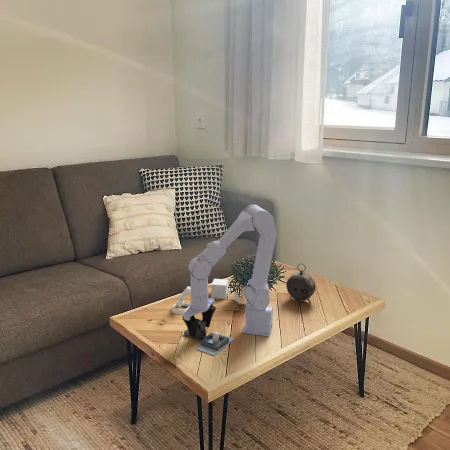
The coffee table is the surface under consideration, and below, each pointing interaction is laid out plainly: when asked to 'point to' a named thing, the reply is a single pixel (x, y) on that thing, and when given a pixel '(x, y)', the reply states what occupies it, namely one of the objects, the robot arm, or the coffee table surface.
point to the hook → (181, 302)
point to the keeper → (215, 341)
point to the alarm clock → (301, 286)
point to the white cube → (219, 288)
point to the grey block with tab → (204, 339)
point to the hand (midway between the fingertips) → (199, 331)
